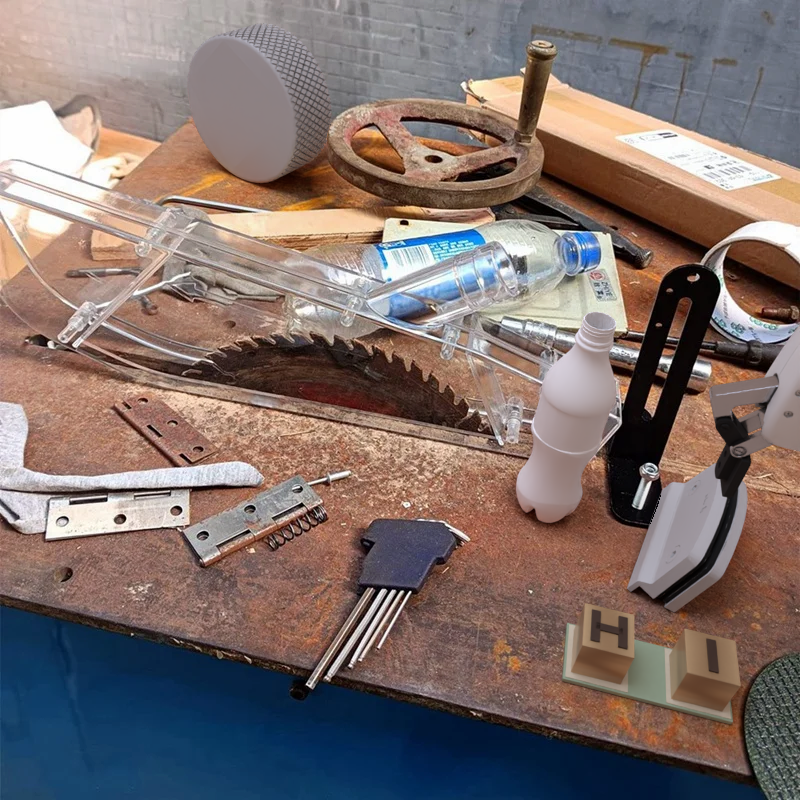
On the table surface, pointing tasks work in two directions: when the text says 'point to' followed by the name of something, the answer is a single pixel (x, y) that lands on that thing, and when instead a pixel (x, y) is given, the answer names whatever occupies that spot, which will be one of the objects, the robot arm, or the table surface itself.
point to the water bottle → (569, 422)
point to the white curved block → (689, 539)
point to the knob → (259, 101)
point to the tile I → (704, 670)
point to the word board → (642, 680)
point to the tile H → (603, 643)
